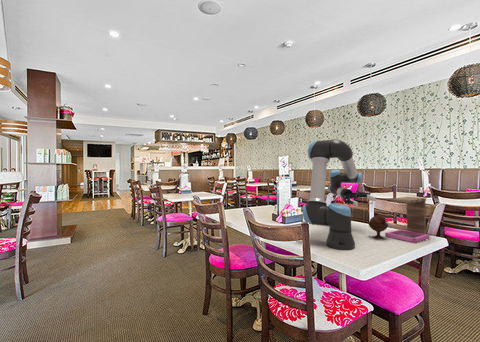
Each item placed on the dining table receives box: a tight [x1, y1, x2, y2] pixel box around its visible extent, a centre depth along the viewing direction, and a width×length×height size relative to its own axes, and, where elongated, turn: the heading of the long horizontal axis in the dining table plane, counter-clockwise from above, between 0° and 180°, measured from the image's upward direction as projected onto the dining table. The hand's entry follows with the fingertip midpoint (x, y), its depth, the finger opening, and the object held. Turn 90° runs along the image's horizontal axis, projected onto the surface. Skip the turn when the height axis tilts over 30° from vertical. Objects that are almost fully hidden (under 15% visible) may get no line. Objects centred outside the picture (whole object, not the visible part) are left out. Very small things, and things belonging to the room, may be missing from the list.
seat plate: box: [384, 229, 431, 244], centre depth 151 cm, size 17×17×2 cm
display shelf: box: [390, 196, 427, 234], centre depth 151 cm, size 20×11×24 cm, turn 119°
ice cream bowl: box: [367, 214, 389, 240], centre depth 151 cm, size 11×11×15 cm
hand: (366, 201), depth 156 cm, fingers open, 13 cm apart
